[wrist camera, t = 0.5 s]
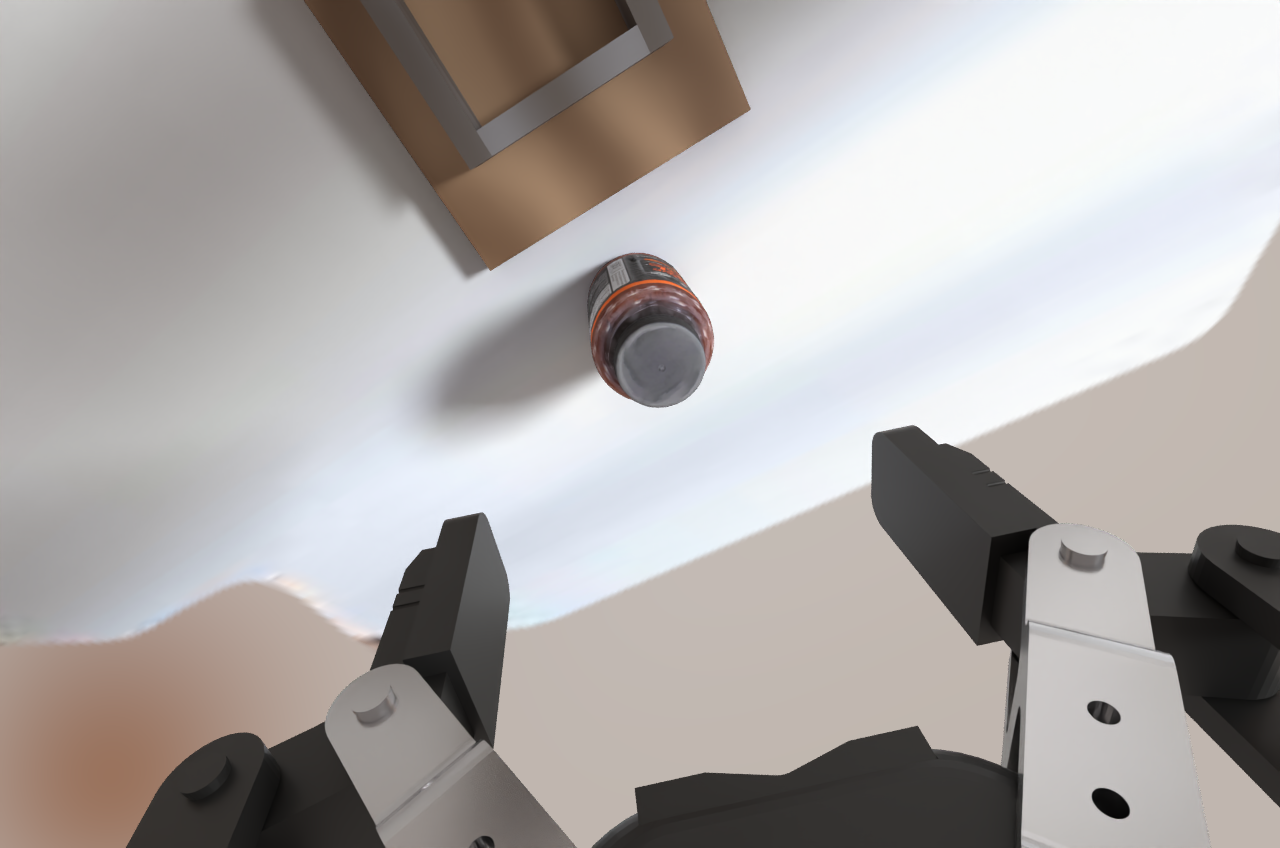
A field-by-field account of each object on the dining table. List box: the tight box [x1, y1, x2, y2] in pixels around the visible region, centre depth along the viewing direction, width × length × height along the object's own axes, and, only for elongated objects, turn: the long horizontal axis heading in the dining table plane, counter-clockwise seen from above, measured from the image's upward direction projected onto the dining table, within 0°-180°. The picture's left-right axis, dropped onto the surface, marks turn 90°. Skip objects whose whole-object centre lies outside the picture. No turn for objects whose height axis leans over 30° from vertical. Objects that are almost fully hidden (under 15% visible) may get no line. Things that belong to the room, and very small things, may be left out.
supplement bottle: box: [588, 253, 714, 408], centre depth 31 cm, size 6×6×11 cm
